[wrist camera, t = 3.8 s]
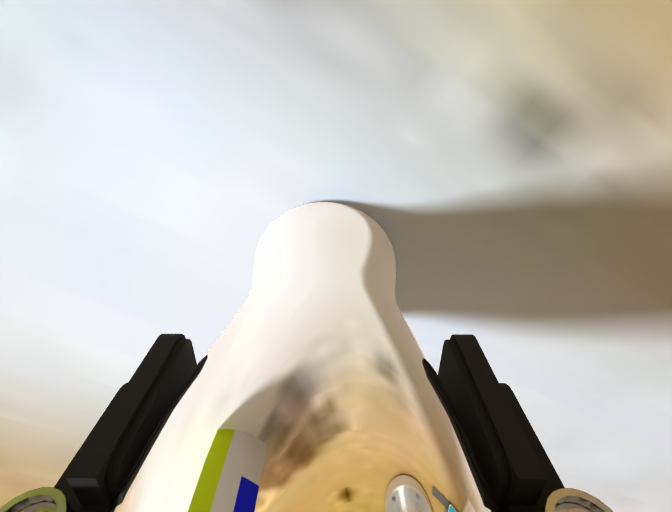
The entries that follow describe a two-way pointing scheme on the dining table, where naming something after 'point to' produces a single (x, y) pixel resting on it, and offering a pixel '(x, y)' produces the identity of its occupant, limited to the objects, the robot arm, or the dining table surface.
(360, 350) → the beer glass
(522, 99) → the dining table surface
